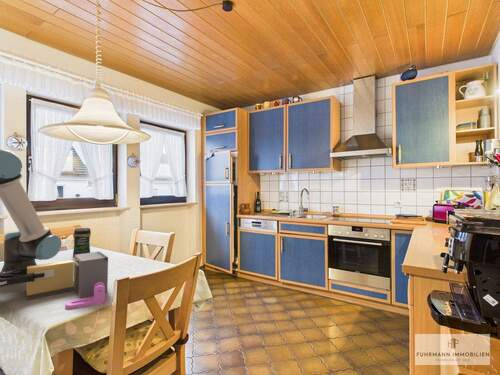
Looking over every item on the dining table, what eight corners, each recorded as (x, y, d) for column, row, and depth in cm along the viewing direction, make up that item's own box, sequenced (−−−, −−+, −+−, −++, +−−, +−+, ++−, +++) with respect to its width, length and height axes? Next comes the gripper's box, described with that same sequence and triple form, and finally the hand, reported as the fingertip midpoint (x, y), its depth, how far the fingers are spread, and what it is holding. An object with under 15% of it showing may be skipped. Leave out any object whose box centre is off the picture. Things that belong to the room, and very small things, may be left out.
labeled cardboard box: (26, 292, 112) (27, 266, 112) (71, 284, 123) (72, 260, 123) (27, 295, 109) (27, 268, 109) (73, 286, 120) (74, 261, 120)
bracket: (104, 298, 110) (104, 281, 110) (104, 303, 105) (105, 285, 105) (65, 304, 103) (66, 286, 103) (64, 310, 98) (65, 291, 98)
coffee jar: (72, 258, 169) (72, 229, 169) (73, 255, 176) (74, 227, 176) (90, 257, 174) (90, 228, 174) (90, 254, 181) (91, 226, 181)
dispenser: (72, 288, 119) (72, 254, 119) (98, 283, 126) (99, 251, 126) (78, 298, 109) (79, 261, 109) (107, 292, 116) (108, 257, 116)
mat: (25, 291, 115) (25, 290, 115) (74, 282, 127) (74, 280, 127) (27, 300, 106) (27, 298, 106) (80, 289, 118) (80, 287, 118)
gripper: (-22, 286, 107) (49, 274, 123) (-26, 300, 94) (56, 285, 110) (-22, 267, 108) (50, 258, 123) (-25, 279, 94) (56, 267, 110)
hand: (52, 270), depth 117 cm, fingers open, 5 cm apart
